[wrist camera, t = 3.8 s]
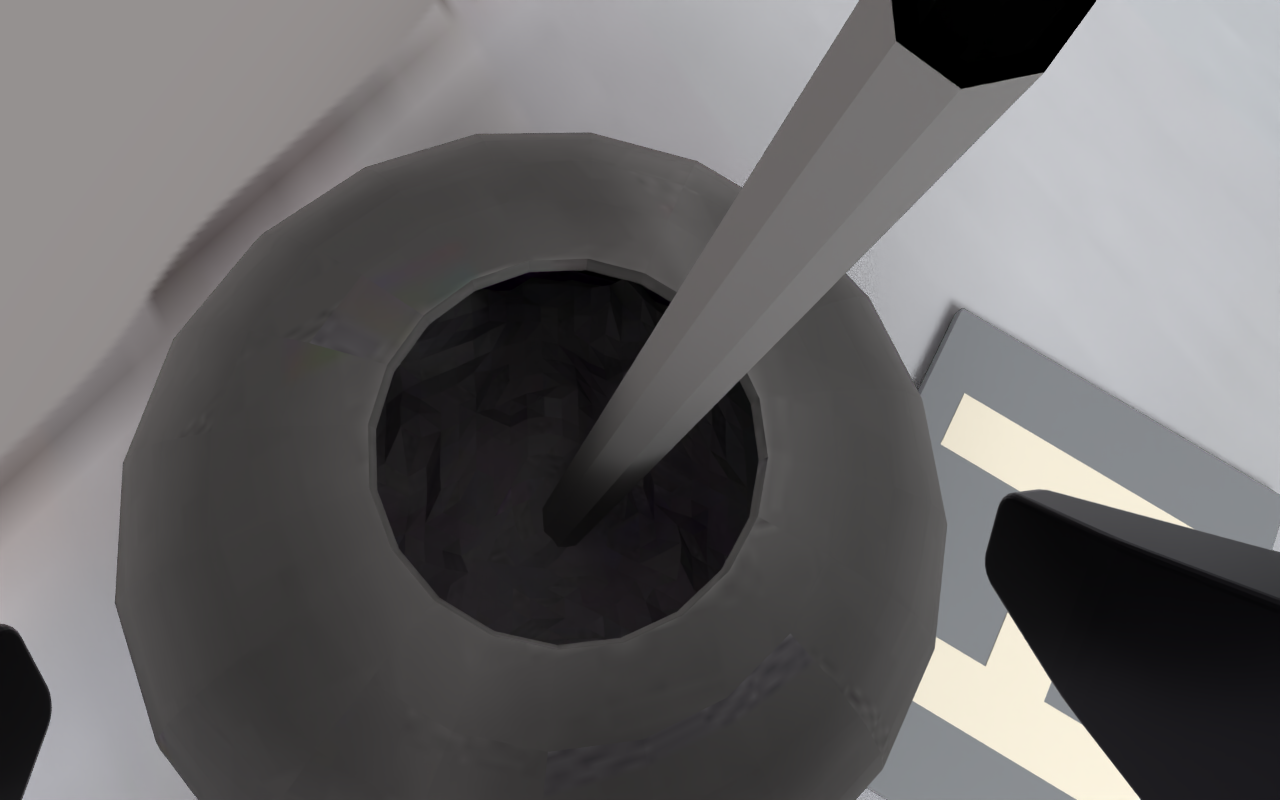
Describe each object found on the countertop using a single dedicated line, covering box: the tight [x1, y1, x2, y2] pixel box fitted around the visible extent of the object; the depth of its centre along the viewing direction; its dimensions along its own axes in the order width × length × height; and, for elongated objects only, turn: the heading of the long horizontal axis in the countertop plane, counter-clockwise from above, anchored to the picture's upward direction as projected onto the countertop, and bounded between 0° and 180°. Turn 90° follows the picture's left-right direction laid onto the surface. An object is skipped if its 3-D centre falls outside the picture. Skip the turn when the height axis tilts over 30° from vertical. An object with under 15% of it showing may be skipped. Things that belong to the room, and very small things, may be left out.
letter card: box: [867, 308, 1280, 800], centre depth 21 cm, size 12×10×1 cm
